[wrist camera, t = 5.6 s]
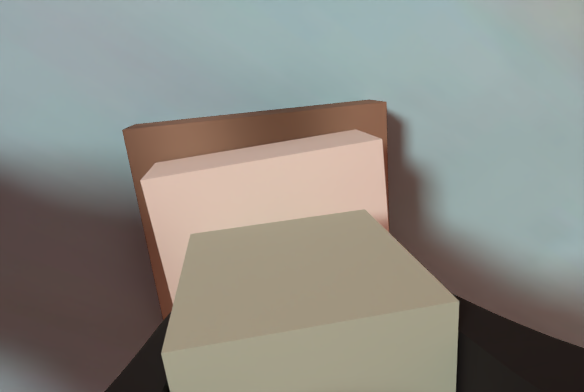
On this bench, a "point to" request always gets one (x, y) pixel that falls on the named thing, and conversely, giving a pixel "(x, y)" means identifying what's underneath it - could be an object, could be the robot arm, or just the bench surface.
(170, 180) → the cream top slab
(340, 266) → the beige cube
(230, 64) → the bench surface
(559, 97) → the bench surface
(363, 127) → the walnut base slab
